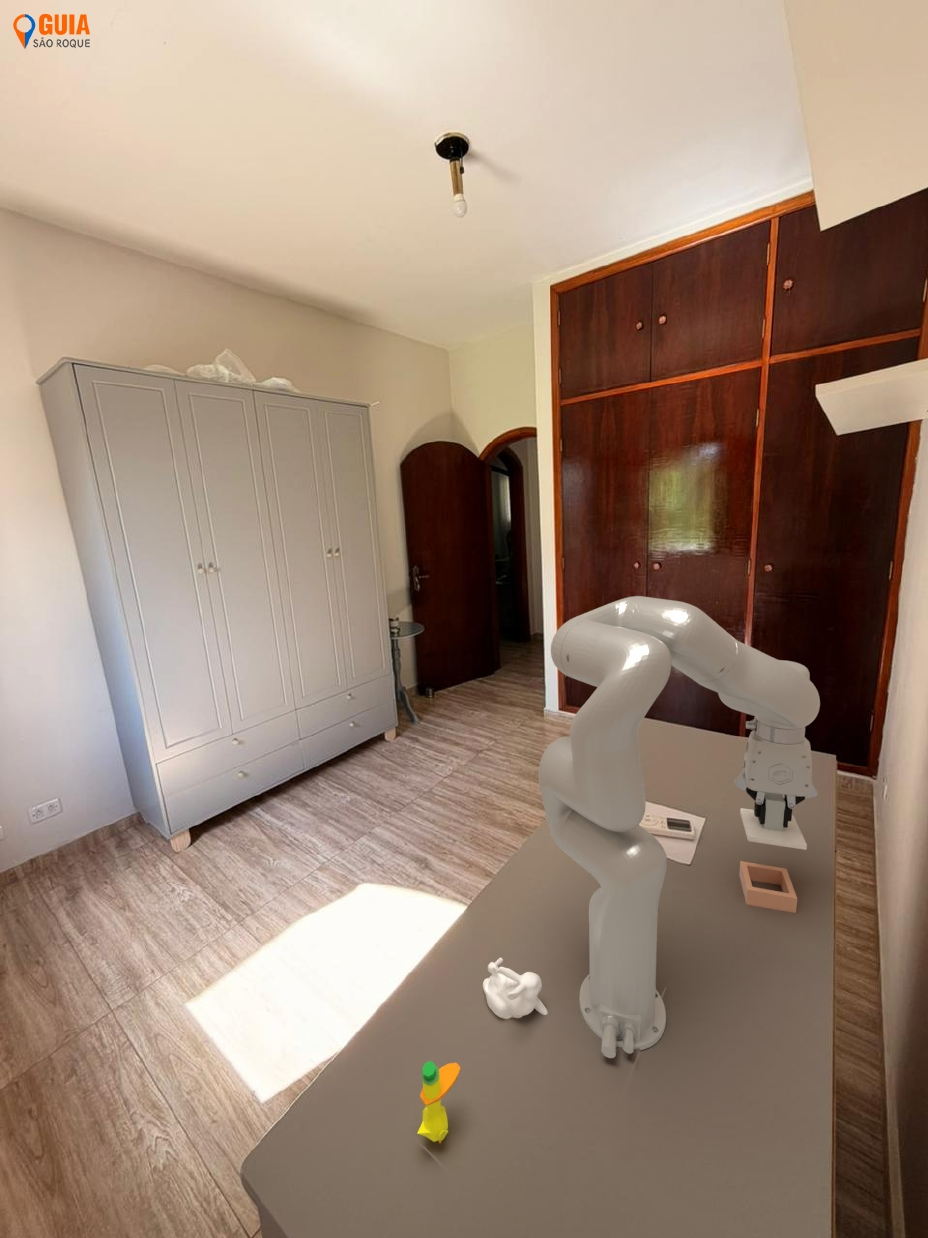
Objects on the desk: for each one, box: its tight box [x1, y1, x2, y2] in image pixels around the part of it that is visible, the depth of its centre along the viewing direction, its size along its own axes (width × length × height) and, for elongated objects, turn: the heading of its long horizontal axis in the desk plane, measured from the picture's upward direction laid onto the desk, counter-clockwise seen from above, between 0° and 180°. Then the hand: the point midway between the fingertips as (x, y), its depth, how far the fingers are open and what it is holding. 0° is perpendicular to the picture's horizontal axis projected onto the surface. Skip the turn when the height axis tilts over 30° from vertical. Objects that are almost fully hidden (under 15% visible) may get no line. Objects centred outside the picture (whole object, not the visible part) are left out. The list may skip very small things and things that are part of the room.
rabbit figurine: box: [482, 957, 549, 1020], centre depth 76 cm, size 12×8×10 cm, turn 52°
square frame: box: [738, 860, 798, 914], centre depth 96 cm, size 8×8×4 cm
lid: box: [739, 793, 808, 851], centre depth 92 cm, size 9×9×7 cm
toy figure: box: [416, 1060, 461, 1144], centre depth 61 cm, size 7×4×12 cm, turn 130°
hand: (772, 820), depth 93 cm, fingers closed on lid, 3 cm apart
